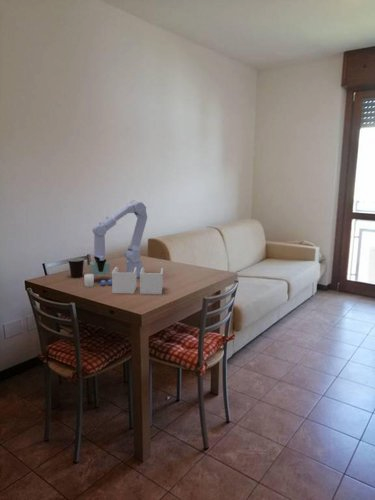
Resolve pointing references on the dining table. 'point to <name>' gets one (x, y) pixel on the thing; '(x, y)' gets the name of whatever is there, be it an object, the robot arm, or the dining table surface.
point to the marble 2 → (110, 282)
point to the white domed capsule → (88, 280)
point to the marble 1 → (103, 282)
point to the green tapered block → (95, 270)
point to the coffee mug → (76, 267)
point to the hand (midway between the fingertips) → (100, 270)
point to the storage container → (128, 282)
